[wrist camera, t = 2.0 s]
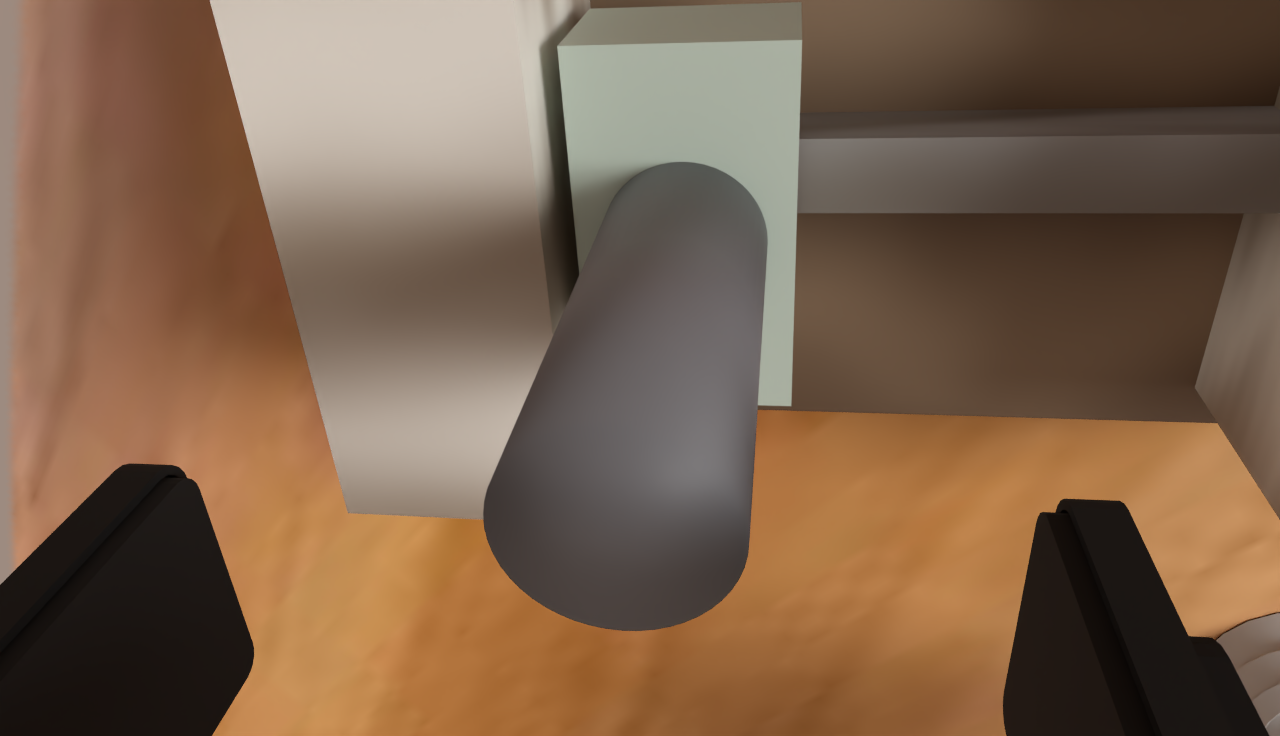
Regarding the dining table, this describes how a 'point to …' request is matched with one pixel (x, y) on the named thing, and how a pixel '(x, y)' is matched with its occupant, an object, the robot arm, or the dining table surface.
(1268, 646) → the chalice
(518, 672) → the dining table surface
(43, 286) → the dining table surface
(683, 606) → the carriage
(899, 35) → the rail bed
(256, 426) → the dining table surface
